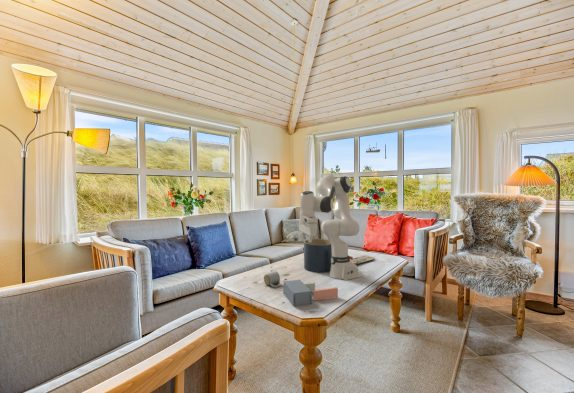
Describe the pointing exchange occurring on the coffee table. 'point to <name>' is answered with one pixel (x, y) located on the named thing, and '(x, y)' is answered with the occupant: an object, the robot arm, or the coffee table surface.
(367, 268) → the coffee table surface
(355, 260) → the newspaper
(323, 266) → the planter
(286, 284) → the grey rectangular block
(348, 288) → the coffee table surface
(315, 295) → the pink stick
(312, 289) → the mint green upright slab
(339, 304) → the coffee table surface
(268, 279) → the ceramic mug
